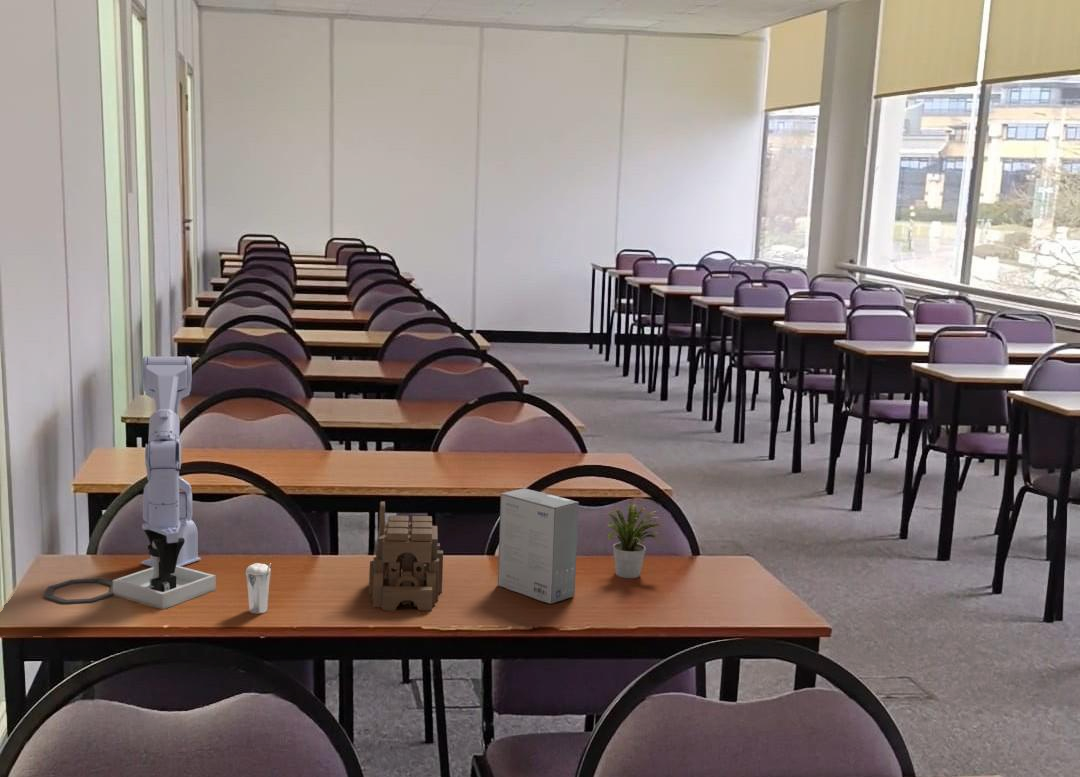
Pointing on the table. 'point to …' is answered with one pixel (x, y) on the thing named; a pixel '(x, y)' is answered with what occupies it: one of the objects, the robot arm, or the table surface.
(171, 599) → the tray
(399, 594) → the wooden puzzle
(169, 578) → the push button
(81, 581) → the seat ring
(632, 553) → the house plant
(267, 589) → the milkshake
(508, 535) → the hard drive box
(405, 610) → the table surface
